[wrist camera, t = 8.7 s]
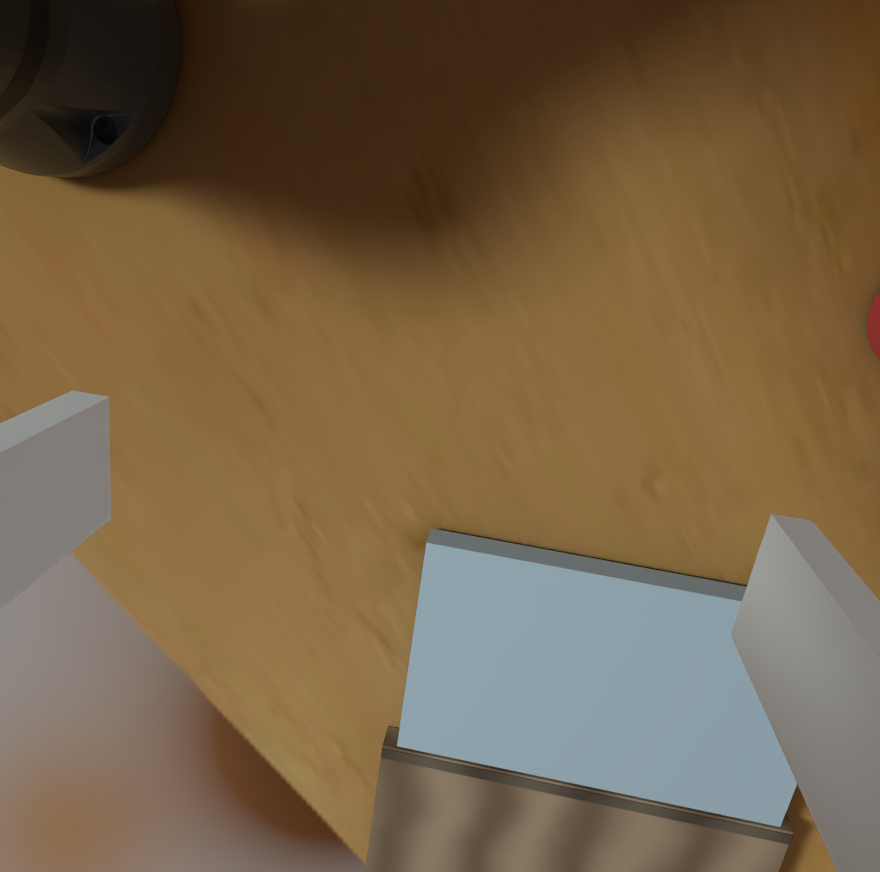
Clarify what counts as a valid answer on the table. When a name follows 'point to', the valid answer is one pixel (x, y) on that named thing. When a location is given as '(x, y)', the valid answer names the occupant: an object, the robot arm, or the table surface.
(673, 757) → the plank
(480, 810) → the floor board
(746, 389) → the table surface
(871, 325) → the beer can
